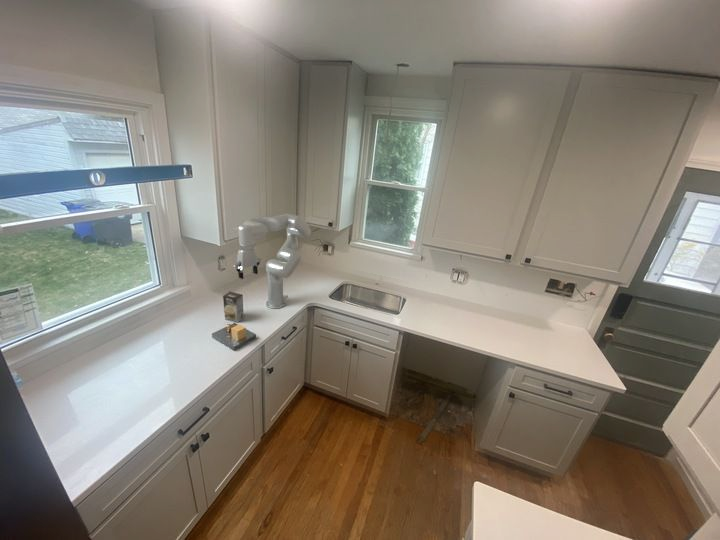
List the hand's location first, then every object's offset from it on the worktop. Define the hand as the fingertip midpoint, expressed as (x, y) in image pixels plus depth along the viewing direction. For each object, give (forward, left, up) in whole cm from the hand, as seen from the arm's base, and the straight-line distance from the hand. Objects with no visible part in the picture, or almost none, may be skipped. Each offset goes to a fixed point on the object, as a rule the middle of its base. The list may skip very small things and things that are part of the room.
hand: (248, 275), depth 166 cm
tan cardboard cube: (+18, +13, -26) cm, 34 cm away
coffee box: (+6, -7, -28) cm, 30 cm away
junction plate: (+18, +9, -28) cm, 35 cm away
